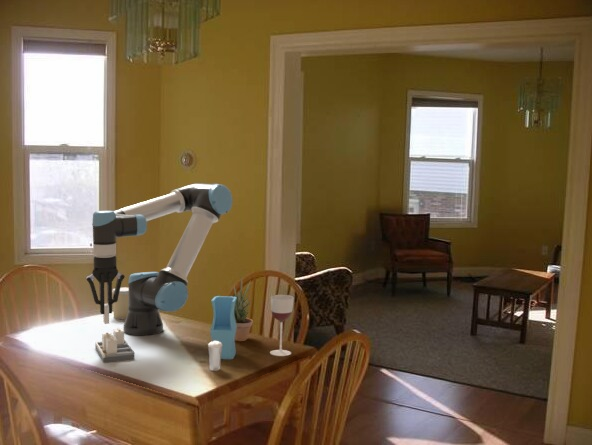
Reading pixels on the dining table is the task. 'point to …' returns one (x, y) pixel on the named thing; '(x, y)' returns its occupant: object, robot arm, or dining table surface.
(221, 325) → the vase
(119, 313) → the coffee cup
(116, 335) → the tab
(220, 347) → the milkshake
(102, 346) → the tab
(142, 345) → the dining table surface
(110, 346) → the tab
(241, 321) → the potted plant
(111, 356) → the switch bank
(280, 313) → the wineglass
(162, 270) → the robot arm
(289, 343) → the dining table surface
